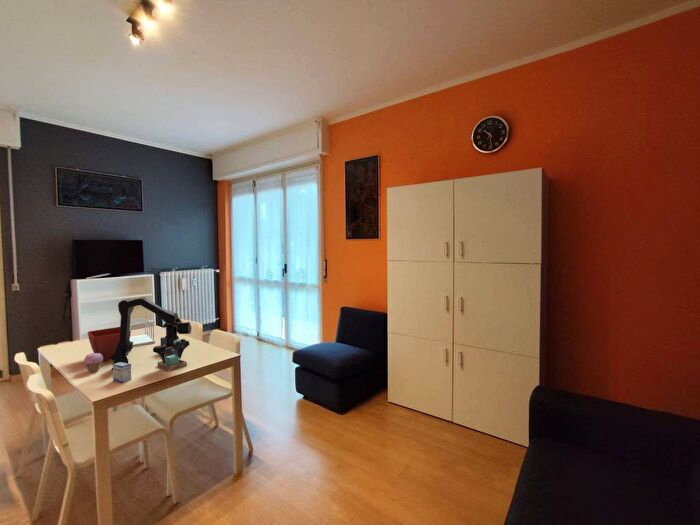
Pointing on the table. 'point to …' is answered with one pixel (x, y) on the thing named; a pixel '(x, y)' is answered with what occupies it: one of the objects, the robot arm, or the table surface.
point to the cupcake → (93, 361)
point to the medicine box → (121, 372)
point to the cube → (172, 360)
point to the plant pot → (105, 341)
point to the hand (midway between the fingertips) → (172, 360)
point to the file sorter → (142, 338)
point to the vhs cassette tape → (170, 350)
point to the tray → (164, 366)
